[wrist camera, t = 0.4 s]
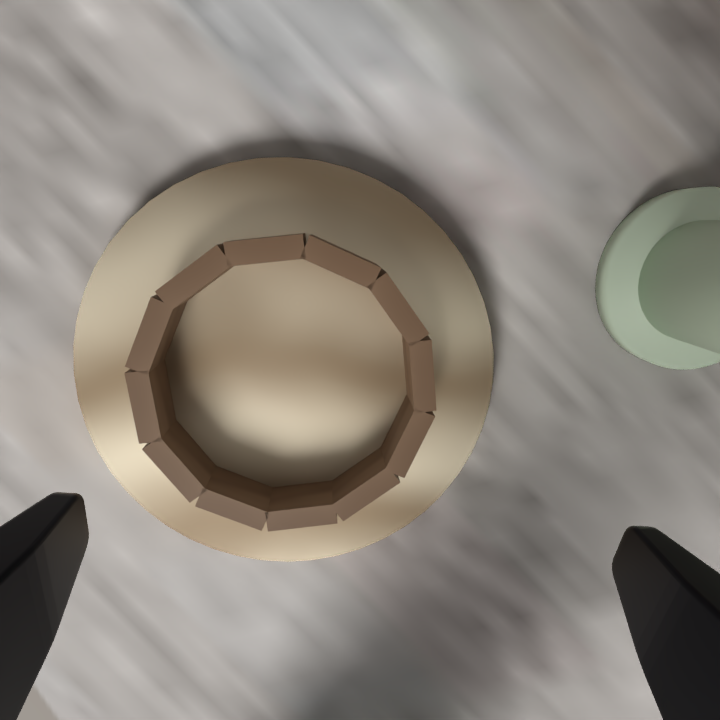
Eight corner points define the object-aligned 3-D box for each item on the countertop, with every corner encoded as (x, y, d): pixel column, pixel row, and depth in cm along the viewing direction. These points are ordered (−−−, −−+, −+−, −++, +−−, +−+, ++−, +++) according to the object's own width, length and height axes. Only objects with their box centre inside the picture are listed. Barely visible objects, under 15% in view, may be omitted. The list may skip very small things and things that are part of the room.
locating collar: (494, 525, 25) (516, 565, 22) (129, 568, 24) (101, 615, 21) (477, 139, 21) (501, 126, 18) (41, 182, 20) (-6, 175, 17)
